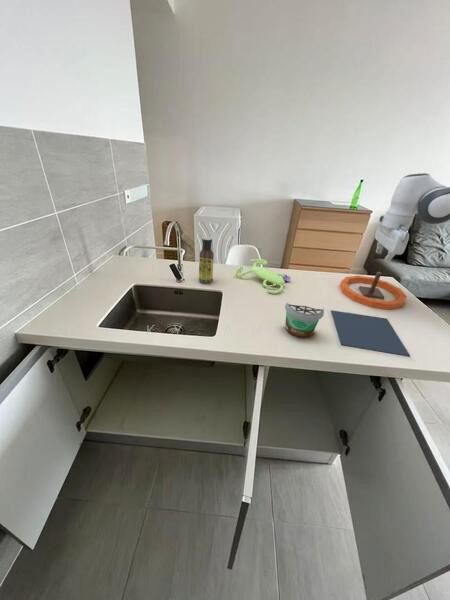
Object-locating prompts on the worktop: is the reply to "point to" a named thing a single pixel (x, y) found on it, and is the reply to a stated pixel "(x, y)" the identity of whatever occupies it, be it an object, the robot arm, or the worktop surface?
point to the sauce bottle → (206, 261)
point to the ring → (368, 301)
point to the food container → (302, 320)
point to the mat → (367, 333)
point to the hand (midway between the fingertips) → (382, 257)
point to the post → (372, 289)
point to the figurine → (266, 275)
